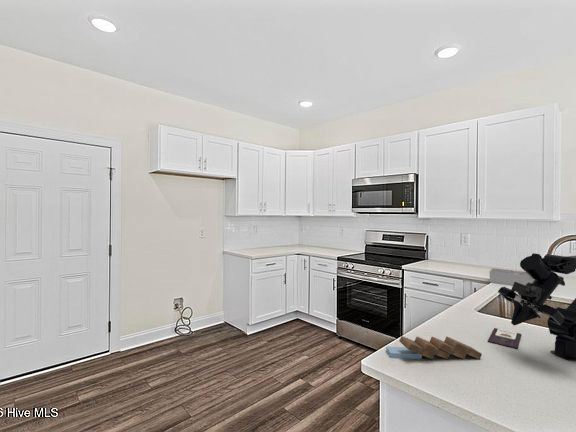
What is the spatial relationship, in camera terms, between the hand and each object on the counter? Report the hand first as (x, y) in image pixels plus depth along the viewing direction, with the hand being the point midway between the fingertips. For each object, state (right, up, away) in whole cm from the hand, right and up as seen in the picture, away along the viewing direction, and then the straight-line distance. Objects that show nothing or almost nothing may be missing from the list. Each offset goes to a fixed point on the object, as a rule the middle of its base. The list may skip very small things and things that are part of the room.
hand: (512, 324), depth 102 cm
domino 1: (-31, -10, +1) cm, 32 cm away
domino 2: (-28, -9, 0) cm, 29 cm away
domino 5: (-11, -10, +2) cm, 15 cm away
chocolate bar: (+10, -12, +18) cm, 23 cm away
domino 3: (-22, -10, +1) cm, 24 cm away
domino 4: (-17, -10, +1) cm, 20 cm away
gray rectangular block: (+86, -13, +117) cm, 146 cm away
